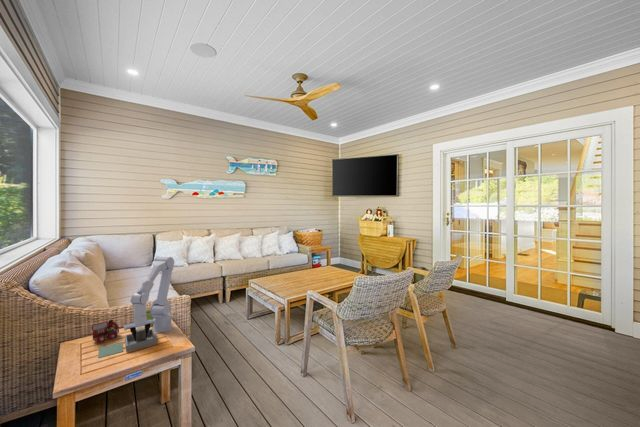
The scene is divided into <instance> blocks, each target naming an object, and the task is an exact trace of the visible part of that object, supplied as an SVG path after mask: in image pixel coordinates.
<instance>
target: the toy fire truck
mask: <svg viewBox="0 0 640 427" xmlns="http://www.w3.org/2000/svg"><path fill="white" fill-rule="evenodd" d="M90 327H91V331H92V341H96V343H98V344H102V343H104V342H106V340H107V338H108V340H111V341H112V340H115V339H116V338H117V337H118V334H119V333H120V327H119V324H117V323H116V322H115V321H114V320H113V319H109V320H108V321H106V320H105V321H102V322H97V323H93V324H92V325H91V326H90Z"/></svg>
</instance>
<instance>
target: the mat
mask: <svg viewBox="0 0 640 427" xmlns="http://www.w3.org/2000/svg"><path fill="white" fill-rule="evenodd" d="M121 353H124V346H123V342H121V341H120V342H118V343H113V344H109V345H106V346H102V347H98V353H97V354H98V356H97V358H98V359H100V358H105V357H108V356H112V355H116V354H121Z"/></svg>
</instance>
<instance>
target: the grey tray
mask: <svg viewBox="0 0 640 427" xmlns="http://www.w3.org/2000/svg"><path fill="white" fill-rule="evenodd" d="M153 329H154V328H150V329H149V331H148V334H147V339H146V340H145V341H141V342H137V343H136V341H135V339H134V336H133V334H132V333H130V334H129V333H128V334H125V335H124V344H125V352H126V353H127V352H133V351H135V350H140V349H143V348H146V347H151V346H155V345H157V344H158V337H157V335H156V334H155V332H154V330H153Z"/></svg>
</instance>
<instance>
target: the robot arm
mask: <svg viewBox="0 0 640 427" xmlns="http://www.w3.org/2000/svg"><path fill="white" fill-rule="evenodd" d="M174 265H175V260H174V257H172V256H156V257H155V258H154V259H153V261H152V268H151V270H150V273H149V274H148V275H147V279H145V280H143V281H142V283H141V284H140V286H139V287H138V290H137V291H136V292H135V293H133V294H132V296H131V297H130V303H131V304H132V307H133V322H132V323H128V324H126V325H123V330H124V331H127V330H129V331H130V334H133V336H134V339H135V341H136V328H137V327H141V326H144V328H145V331H146V339H147V334H148V331H149V330H150V329H151V327H153V328H152V329H153V330H154V332H155V335H156V334H160V333H163V332H168V331H171V330H172V328H173V327H172V315H171V313H170V312H171V302H170V301H169V300H168V295H169V289H170V283H171V279H172V274H173V271H174V267H175V266H174ZM160 272H161V277H160V282H159V287H158V291H157V296H156V299H155V300H154V301H153V302H151V306H150V307H149V310H150V314H151V315H152V317H153V319H152V320H147V316H146V311H147V302H148V301H149V299H150V293H151V291H152V289H153V287H154V285H155V284H154V281H155V280H156V278H157V277H158V275H159V273H160ZM150 324H153V326H151V325H150Z"/></svg>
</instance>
